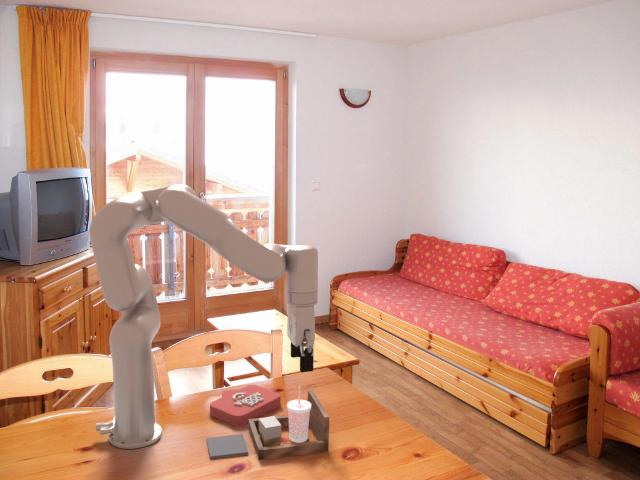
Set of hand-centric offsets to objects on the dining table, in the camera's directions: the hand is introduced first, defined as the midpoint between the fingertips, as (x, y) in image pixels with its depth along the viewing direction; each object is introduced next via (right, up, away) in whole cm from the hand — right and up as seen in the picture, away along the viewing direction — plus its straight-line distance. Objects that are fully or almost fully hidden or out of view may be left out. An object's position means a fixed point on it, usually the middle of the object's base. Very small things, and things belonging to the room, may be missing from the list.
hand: (301, 363), depth 150 cm
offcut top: (-8, -17, 0) cm, 19 cm away
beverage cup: (-1, -20, +4) cm, 20 cm away
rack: (-4, -19, +3) cm, 20 cm away
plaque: (-17, -17, +20) cm, 31 cm away
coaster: (-18, -20, -2) cm, 27 cm away
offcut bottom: (-8, -20, +1) cm, 22 cm away
